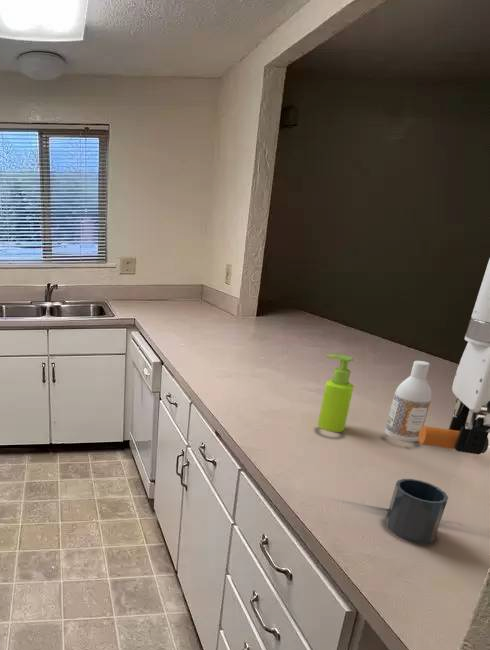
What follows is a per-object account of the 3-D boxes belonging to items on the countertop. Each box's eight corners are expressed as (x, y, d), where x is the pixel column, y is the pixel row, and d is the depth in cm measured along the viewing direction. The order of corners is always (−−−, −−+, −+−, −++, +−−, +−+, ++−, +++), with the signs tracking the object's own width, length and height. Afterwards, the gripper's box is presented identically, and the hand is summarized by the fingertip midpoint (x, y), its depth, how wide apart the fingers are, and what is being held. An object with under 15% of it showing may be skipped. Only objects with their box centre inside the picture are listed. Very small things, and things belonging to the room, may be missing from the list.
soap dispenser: (319, 423, 115) (334, 351, 108) (347, 432, 110) (364, 357, 103) (308, 429, 112) (322, 355, 105) (336, 439, 107) (352, 362, 100)
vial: (422, 447, 69) (427, 429, 69) (417, 440, 72) (421, 423, 71) (485, 456, 67) (490, 438, 66) (476, 448, 69) (482, 431, 68)
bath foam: (394, 446, 103) (416, 367, 96) (377, 433, 109) (396, 357, 103) (424, 447, 103) (448, 367, 96) (405, 433, 109) (427, 358, 102)
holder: (427, 521, 77) (439, 483, 75) (440, 547, 71) (454, 507, 69) (381, 512, 80) (391, 475, 77) (390, 536, 74) (402, 497, 71)
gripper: (569, 351, 54) (518, 478, 60) (507, 324, 68) (471, 429, 74) (493, 345, 57) (452, 467, 63) (449, 320, 71) (419, 421, 77)
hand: (462, 445), depth 69 cm, fingers closed on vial, 3 cm apart
